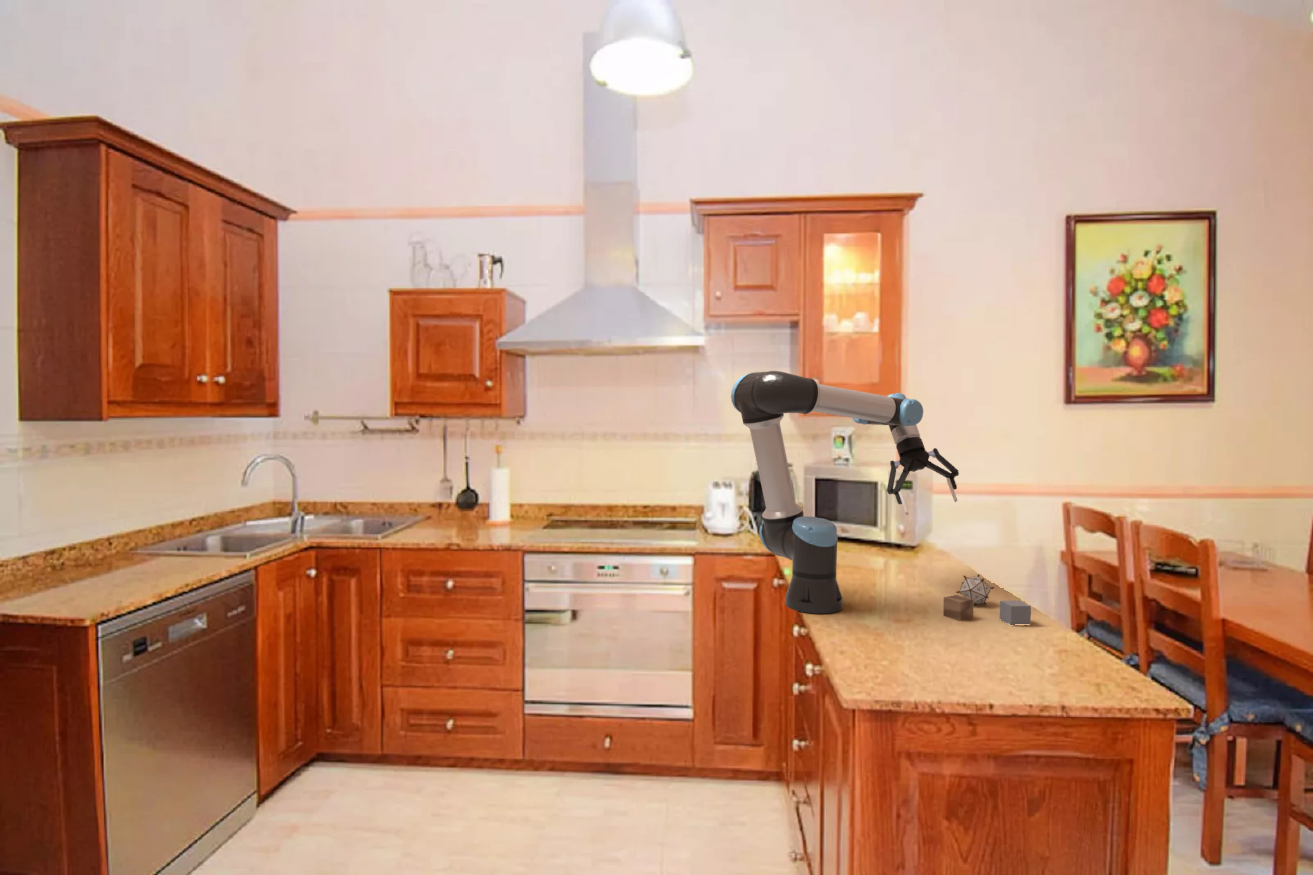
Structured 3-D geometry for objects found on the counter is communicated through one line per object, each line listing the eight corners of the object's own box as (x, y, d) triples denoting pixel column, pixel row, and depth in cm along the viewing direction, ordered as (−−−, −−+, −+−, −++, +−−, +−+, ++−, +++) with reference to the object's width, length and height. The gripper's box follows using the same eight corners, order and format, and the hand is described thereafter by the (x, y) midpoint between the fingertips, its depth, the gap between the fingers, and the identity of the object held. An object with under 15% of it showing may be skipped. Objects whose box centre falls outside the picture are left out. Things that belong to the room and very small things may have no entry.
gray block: (1010, 626, 168) (1011, 606, 167) (999, 620, 173) (1000, 600, 172) (1030, 626, 168) (1030, 606, 168) (1018, 619, 173) (1019, 600, 173)
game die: (981, 619, 185) (1000, 596, 179) (950, 606, 186) (968, 583, 180) (981, 596, 192) (999, 573, 186) (951, 584, 193) (968, 561, 187)
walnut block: (960, 621, 171) (960, 602, 171) (943, 616, 176) (943, 597, 175) (973, 618, 174) (973, 599, 173) (956, 613, 178) (956, 594, 178)
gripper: (951, 433, 203) (977, 498, 193) (868, 458, 211) (888, 522, 201) (950, 423, 197) (976, 490, 187) (864, 449, 205) (885, 515, 195)
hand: (931, 507), depth 194 cm, fingers open, 13 cm apart
